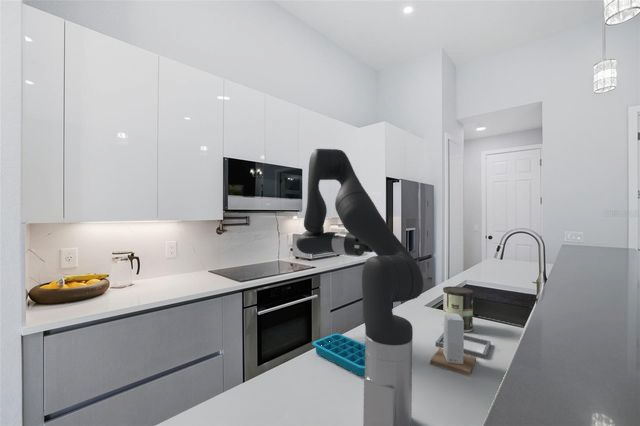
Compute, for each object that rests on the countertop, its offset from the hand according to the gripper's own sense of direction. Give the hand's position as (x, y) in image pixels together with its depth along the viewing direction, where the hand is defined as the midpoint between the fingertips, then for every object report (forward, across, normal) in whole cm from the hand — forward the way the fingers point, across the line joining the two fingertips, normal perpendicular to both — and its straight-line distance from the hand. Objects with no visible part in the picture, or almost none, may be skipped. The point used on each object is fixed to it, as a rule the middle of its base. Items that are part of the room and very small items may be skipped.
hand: (395, 247), depth 88 cm
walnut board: (+15, +6, +32) cm, 36 cm away
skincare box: (+15, +6, +31) cm, 35 cm away
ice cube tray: (-10, -10, +33) cm, 36 cm away
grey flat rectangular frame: (+15, +20, +32) cm, 41 cm away
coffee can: (+10, +36, +32) cm, 49 cm away
